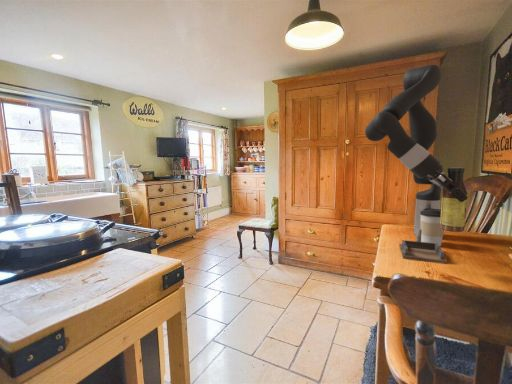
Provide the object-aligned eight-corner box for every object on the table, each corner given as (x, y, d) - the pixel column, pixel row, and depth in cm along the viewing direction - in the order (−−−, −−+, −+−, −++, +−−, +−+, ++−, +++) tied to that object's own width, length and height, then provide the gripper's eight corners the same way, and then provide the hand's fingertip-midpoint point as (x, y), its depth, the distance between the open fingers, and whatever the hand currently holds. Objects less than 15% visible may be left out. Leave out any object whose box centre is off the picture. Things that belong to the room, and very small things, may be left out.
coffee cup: (418, 239, 111) (420, 206, 109) (443, 242, 106) (446, 208, 104) (418, 244, 104) (420, 209, 102) (445, 248, 99) (447, 211, 97)
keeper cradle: (399, 246, 103) (400, 227, 102) (437, 250, 98) (438, 230, 97) (403, 258, 91) (404, 237, 90) (446, 263, 85) (448, 241, 84)
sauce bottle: (469, 233, 75) (476, 167, 73) (445, 232, 77) (451, 168, 74) (456, 227, 82) (462, 166, 79) (435, 226, 83) (440, 167, 80)
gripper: (433, 151, 73) (482, 193, 69) (424, 152, 86) (464, 187, 82) (411, 170, 76) (456, 210, 72) (405, 168, 88) (443, 202, 85)
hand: (460, 198), depth 77 cm, fingers closed on sauce bottle, 6 cm apart
